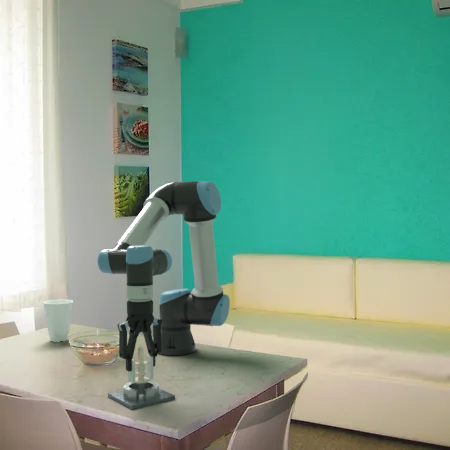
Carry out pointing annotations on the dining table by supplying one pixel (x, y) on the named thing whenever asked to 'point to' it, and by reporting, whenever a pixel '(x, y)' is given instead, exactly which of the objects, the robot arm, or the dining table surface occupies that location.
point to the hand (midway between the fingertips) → (140, 379)
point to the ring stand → (141, 395)
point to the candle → (141, 368)
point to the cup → (58, 318)
